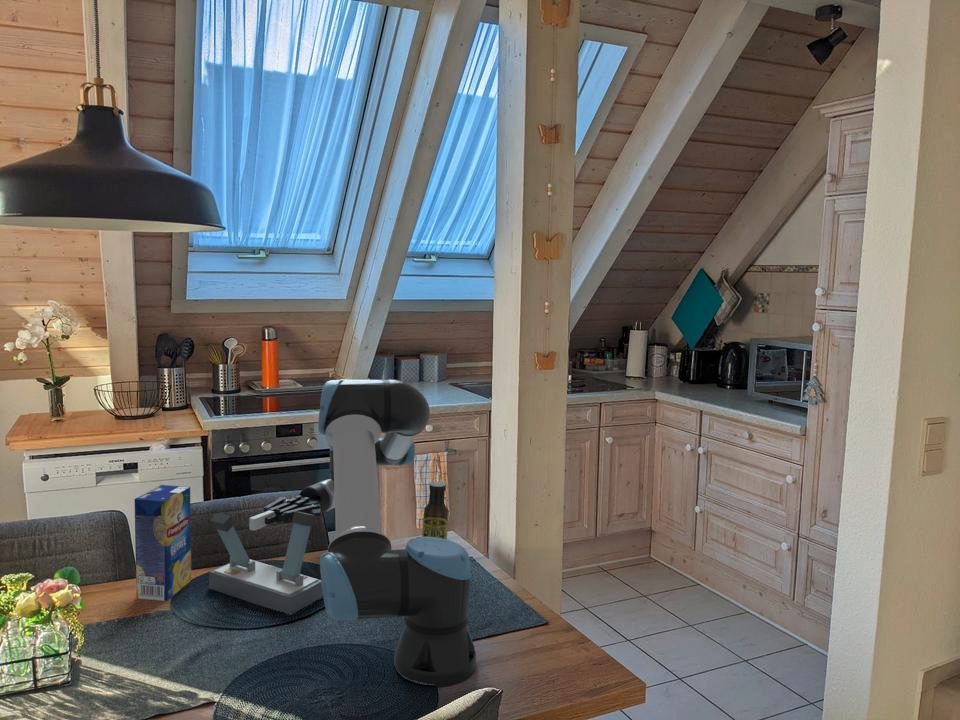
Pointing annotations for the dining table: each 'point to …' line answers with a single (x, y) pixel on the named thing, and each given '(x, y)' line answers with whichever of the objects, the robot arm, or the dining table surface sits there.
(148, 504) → the blue food box
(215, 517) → the lever far
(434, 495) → the sauce bottle
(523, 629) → the dining table surface
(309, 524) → the lever near
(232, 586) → the switch console
